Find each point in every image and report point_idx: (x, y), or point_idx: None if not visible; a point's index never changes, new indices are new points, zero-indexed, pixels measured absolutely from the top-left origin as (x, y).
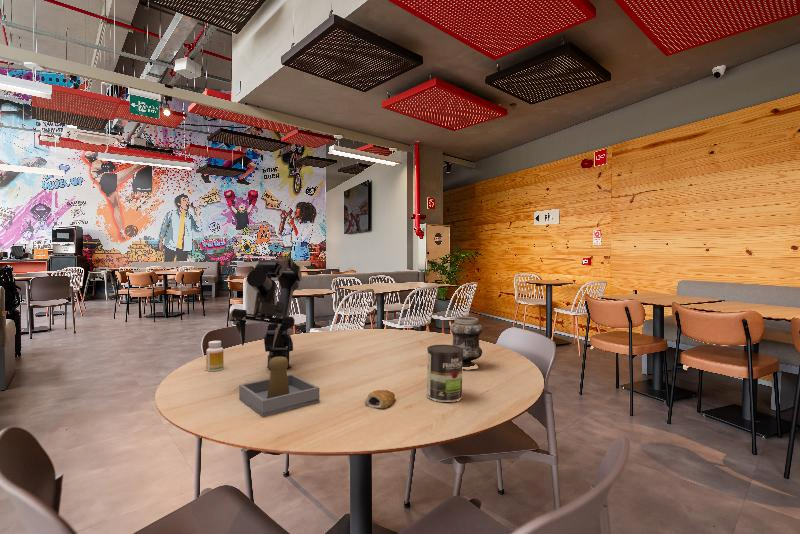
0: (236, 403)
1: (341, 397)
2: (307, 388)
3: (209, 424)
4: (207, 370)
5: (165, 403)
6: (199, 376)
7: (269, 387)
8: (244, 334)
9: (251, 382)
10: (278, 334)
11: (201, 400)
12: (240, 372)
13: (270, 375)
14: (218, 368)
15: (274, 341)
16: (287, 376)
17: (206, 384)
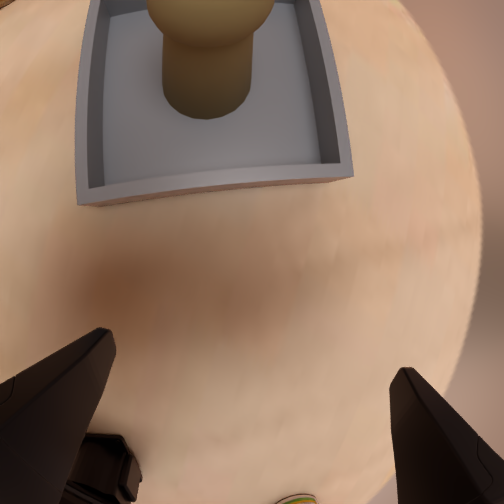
0: None
1: (38, 35)
2: (99, 50)
3: (415, 58)
4: (316, 499)
5: (473, 275)
6: (350, 467)
7: (252, 56)
8: (448, 434)
9: (299, 178)
10: (9, 406)
11: (419, 248)
12: (236, 471)
13: (252, 36)
14: (293, 500)
15: (81, 387)
16: (108, 185)
17: (365, 399)
